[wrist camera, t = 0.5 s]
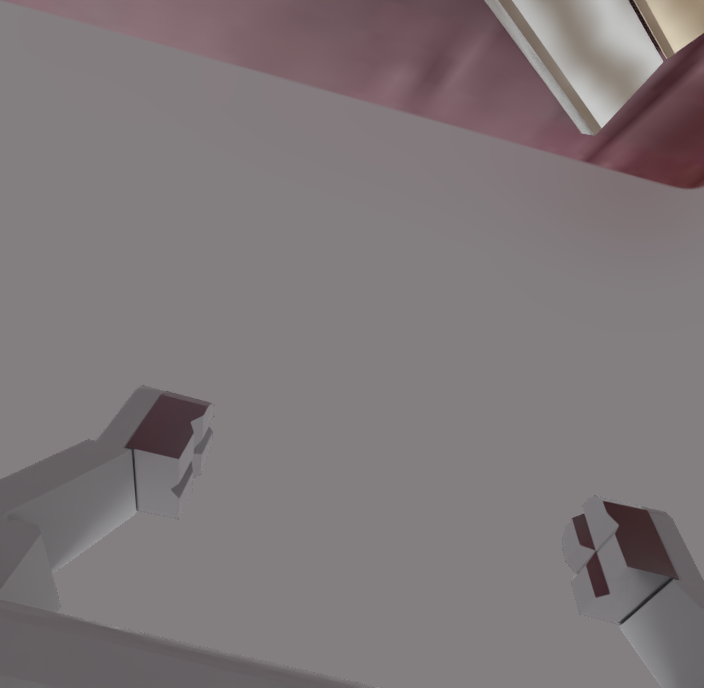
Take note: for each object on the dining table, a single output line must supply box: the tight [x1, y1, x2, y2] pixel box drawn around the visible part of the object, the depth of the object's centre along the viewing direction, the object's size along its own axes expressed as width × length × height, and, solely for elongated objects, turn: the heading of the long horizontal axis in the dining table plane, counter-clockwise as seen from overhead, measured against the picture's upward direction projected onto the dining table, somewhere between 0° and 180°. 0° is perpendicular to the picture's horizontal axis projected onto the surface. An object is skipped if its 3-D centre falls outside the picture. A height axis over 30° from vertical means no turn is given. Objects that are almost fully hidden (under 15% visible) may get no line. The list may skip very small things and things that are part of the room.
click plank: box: [485, 0, 663, 135], centre depth 40 cm, size 8×22×2 cm, turn 47°
